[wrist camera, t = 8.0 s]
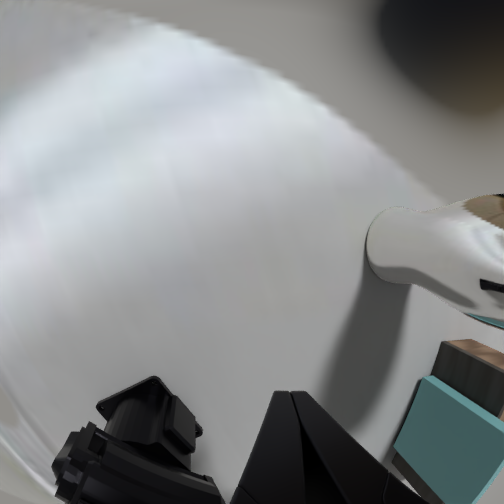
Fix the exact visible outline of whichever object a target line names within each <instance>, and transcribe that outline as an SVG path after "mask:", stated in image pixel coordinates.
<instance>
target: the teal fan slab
mask: <svg viewBox="0 0 504 504" xmlns="http://www.w3.org/2000/svg"><path fill="white" fill-rule="evenodd" d="M393 447H394V448H395V449H396V450H397V452H398V453H399V454H400V455H401V456H402V457H403V458H404V459H405V460H406V462H407V463H408V464H409V465H410V466H411V467H412V468H413V469H414V470H415V471H416V473H417V474H418V475H419V476H420V477H421V478H422V479H423V480H424V481H425V482H426V484H427V485H428V486H429V487H430V488H431V489H432V490H433V491H434V492H435V493H436V494H437V495H438V497H439V498H440V499H441V500H442V501H443V502H444V503H445V504H476V503H477V501H478V500H479V499H480V498H481V496H482V495H483V494H484V493H485V491H486V490H487V489H488V487H489V486H490V485H491V483H492V482H493V481H494V479H495V478H496V477H497V475H498V474H499V472H500V471H501V469H502V468H503V466H504V422H503V421H501V420H500V419H498V418H497V417H495V416H494V415H492V414H490V413H489V412H487V411H486V410H484V409H483V408H481V407H480V406H478V405H477V404H475V403H474V402H472V401H471V400H469V399H468V398H466V397H465V396H463V395H462V394H460V393H459V392H457V391H456V390H454V389H453V388H451V387H450V386H448V385H446V384H445V383H443V382H442V381H440V380H439V379H437V378H436V377H434V376H433V375H432V376H426V377H423V378H422V381H421V384H420V386H419V389H418V392H417V394H416V397H415V399H414V402H413V404H412V407H411V409H410V411H409V414H408V416H407V418H406V421H405V423H404V425H403V427H402V429H401V431H400V434H399V436H398V438H397V440H396V442H395V444H394V446H393Z"/></svg>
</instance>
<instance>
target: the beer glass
mask: <svg viewBox="0 0 504 504" xmlns="http://www.w3.org/2000/svg"><path fill="white" fill-rule="evenodd" d="M366 252H367V258H368V261H369V264H370V266H371V268H372V270H373V271H374V273H375V274H376V275H377V276H378V277H380V278H381V279H382V280H384V281H387V282H390V283H399V284H414V285H417V286H419V287H421V288H423V289H425V290H426V291H428V292H430V293H431V294H433V295H434V296H436V297H437V298H439V299H440V300H442V301H443V302H445V303H446V304H448V305H449V306H451V307H452V308H454V309H456V310H457V311H459V312H461V313H463V314H464V315H466V316H468V317H470V318H472V319H474V320H477V321H479V322H481V323H484V324H486V325H489V326H492V327H495V328H498V329H501V330H504V194H493V195H483V196H479V197H474V198H470V199H466V200H462V201H459V202H456V203H452V204H449V205H446V206H443V207H440V208H436V209H432V210H429V211H417V210H413V209H409V208H405V207H390V208H387V209H385V210H383V211H382V212H381V213H380V214H378V215H377V217H376V218H375V219H374V221H373V222H372V224H371V226H370V229H369V231H368V235H367V241H366Z"/></svg>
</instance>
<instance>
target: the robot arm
mask: <svg viewBox="0 0 504 504" xmlns="http://www.w3.org/2000/svg"><path fill="white" fill-rule="evenodd" d="M152 381H155V382H157V384H153V383H152ZM101 406H102V407H104V409H103V408H101ZM96 409H97V410H98V412H99V413H100V414H101V415H102V416H103V417H104V418H105V419H106V421H107V424H106V426H105V429H104V431H102V430H101V429H99V428H97V427H96V426H97V425H95V424H93V423H92V422H90V421H89V423H88V424H87V426H86V428H84V427H82V428H81V430H80V432H71V433H70V435H69V437H68V439H67V441H66V442H65V444H64V446H63V448H62V449H61V451H60V452H59V453H58V455H57V456H56V458H55V460H54V462H53V464H52V466H51V467H52V470H53V472H54V475H55V477H56V479H57V480H56V483H55V485H57V486H58V489H57V491H56V494H55V497H56V498H58V499H60V500H62V501H63V502H65V504H226V503H225V501H224V500H223V498H222V496H221V494H220V492H219V490H218V488H217V486H216V485H215V483H214V481H213V479H212V477H209V476H206V475H203V476H202V475H199V474H196V473H193V472H191V453H194V452H195V448H196V447H195V438H197V437H199V436H201V435H202V434H203V429H202V427H201V426H200V425H199V424H198V423H197V422H196V421H195V416H194V415H193V414H192V413H191V412H190V410H189V409H188V408H187V407H186V406H185V405H184V404H183V402H182V401H181V400H180V399H179V398H178V396H176V395H173V394H172V393H171V392H170V390H169V389H168V388H167V387H166V386H165V384H164V383H163V382H162V381H161V379H160V378H159V377H157V376H151V377H149V378H147V379H145V380H143V381H141V382H139V383H137V384H135V385H133V386H131V387H129V388H126V389H124V390H122V391H120V392H118V393H116V394H114V395H112V396H110V397H108V398H105V399H103V400H101V401H99V402H98V403H97V405H96ZM195 430H198V432H195ZM230 504H431V503H429V502H428V501H426V500H425V499H423V498H422V497H420V496H419V495H417V494H416V493H415V492H413V491H412V490H410V489H409V488H408V487H407V486H406V485H405V484H403V483H402V482H401V481H400V480H399V479H397V478H396V477H395V476H394V475H393V474H392V473H390V472H389V473H388V470H387V469H386V468H385V467H384V466H383V465H382V464H381V463H379V462H378V461H377V460H376V459H375V458H374V457H373V456H372V455H371V454H370V453H369V452H368V451H366V450H365V449H364V448H363V447H362V446H361V445H360V444H359V443H358V442H357V441H356V440H355V439H354V438H353V437H352V436H351V435H350V434H349V433H348V432H346V431H345V430H344V429H343V428H342V427H341V426H340V425H339V424H338V423H337V422H336V421H335V420H334V419H333V418H332V417H331V416H330V415H329V414H328V413H327V412H326V411H325V410H324V409H323V408H322V407H321V406H320V405H319V404H318V403H317V402H316V401H315V400H314V399H313V398H312V397H311V396H310V395H309V394H308V393H307V392H306V391H291V392H289V391H274V393H273V395H272V398H271V401H270V404H269V407H268V409H267V412H266V415H265V418H264V420H263V423H262V426H261V428H260V431H259V434H258V436H257V439H256V442H255V444H254V447H253V449H252V452H251V454H250V457H249V459H248V462H247V464H246V467H245V469H244V472H243V474H242V477H241V479H240V481H239V484H238V487H237V488H236V490H235V493H234V495H233V497H232V500H231V502H230Z"/></svg>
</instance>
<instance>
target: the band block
mask: <svg viewBox="0 0 504 504" xmlns="http://www.w3.org/2000/svg"><path fill="white" fill-rule="evenodd" d="M432 375H433V376H434V377H436V378H437V379H439V380H440V381H442V382H443V383H445V384H446V385H448V386H450V387H451V388H453V389H454V390H456V391H457V392H459V393H460V394H462V395H463V396H465V397H466V398H468V399H469V400H471V401H472V402H474V403H475V404H477V405H478V406H480V407H481V408H483V409H484V410H486V411H487V412H489V413H490V414H492V415H494V416H495V417H497V418H498V419H500V420H501V421H503V422H504V354H503V353H501V352H499V351H497V350H495V349H492V348H490V347H488V346H486V345H483V344H481V343H479V342H477V341H475V340H472V339H466V340H455V341H443V342H442V343H441V346H440V349H439V352H438V356H437V359H436V362H435V365H434V368H433V370H432V373H431V376H432ZM392 463H393V465H394V466H395V467H396V468H397V469H398V470H399V472H400V473H401V474H402V475H403V476H404V478H405V479H406V480H407V481H408V482H409V483H410V485H411V486H412V487H413V488H414V489H415V490H416V492H417V493H418V494H419V495H420V496H421V497H422V498H423V499H425V500H426V501H428V502H429V503H431V504H445V503H444V502H443V501H442V500H441V499H440V498H439V497H438V495H437V494H436V493H435V492H434V491H433V490H432V489H431V488H430V487H429V486H428V485H427V484H426V482H425V481H424V480H423V479H422V478H421V477H420V476H419V475H418V474H417V473H416V471H415V470H414V469H413V468H412V467H411V466H410V465H409V464H408V463H407V462H406V460H405V459H404V458H403V457H402V456H401V455H400V454H399V453H398V452H397V453H396V455H395V457H394V459H393V461H392Z"/></svg>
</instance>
